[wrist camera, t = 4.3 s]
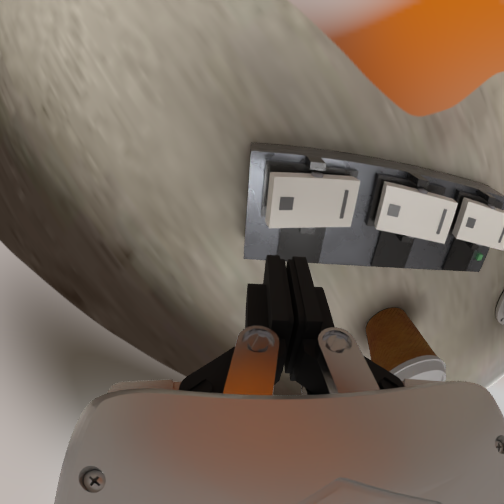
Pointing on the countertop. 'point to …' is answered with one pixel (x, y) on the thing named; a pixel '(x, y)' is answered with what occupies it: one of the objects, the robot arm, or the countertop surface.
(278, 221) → the rocker
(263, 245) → the power strip
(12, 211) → the countertop surface
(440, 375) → the disposable coffee cup
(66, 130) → the countertop surface
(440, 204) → the rocker
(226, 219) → the countertop surface
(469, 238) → the rocker
